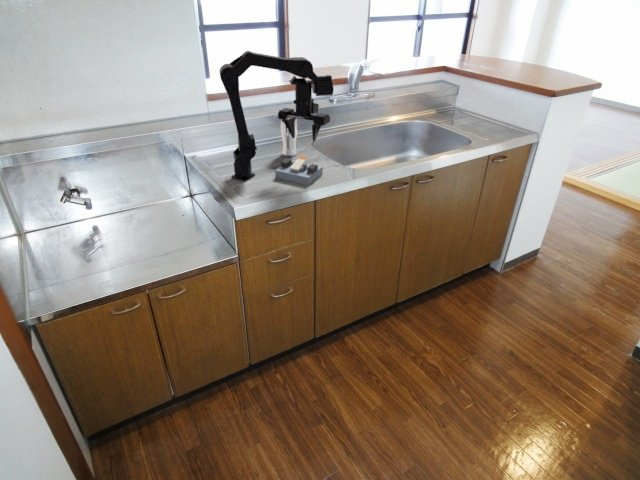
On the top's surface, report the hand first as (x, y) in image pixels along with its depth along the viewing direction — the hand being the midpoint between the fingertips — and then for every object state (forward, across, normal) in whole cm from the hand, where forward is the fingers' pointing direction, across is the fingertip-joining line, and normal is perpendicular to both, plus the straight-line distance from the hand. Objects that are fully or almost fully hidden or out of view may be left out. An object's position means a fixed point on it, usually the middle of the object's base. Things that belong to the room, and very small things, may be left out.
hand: (303, 139), depth 158 cm
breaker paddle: (+8, 0, +4) cm, 9 cm away
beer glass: (+13, +15, -15) cm, 25 cm away
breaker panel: (+13, 0, +4) cm, 14 cm away
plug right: (+10, -6, +4) cm, 12 cm away
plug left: (+10, +6, +4) cm, 12 cm away
